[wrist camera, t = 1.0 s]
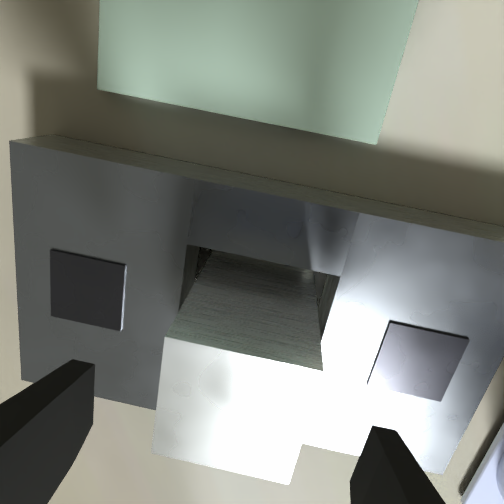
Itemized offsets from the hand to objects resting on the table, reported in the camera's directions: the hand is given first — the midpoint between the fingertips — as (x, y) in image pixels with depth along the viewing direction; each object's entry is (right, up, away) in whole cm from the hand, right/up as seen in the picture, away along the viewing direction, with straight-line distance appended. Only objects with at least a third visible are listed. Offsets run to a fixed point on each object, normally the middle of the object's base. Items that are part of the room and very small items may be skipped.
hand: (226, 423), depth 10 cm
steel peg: (+1, +3, +7) cm, 7 cm away
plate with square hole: (+1, +3, +7) cm, 7 cm away
